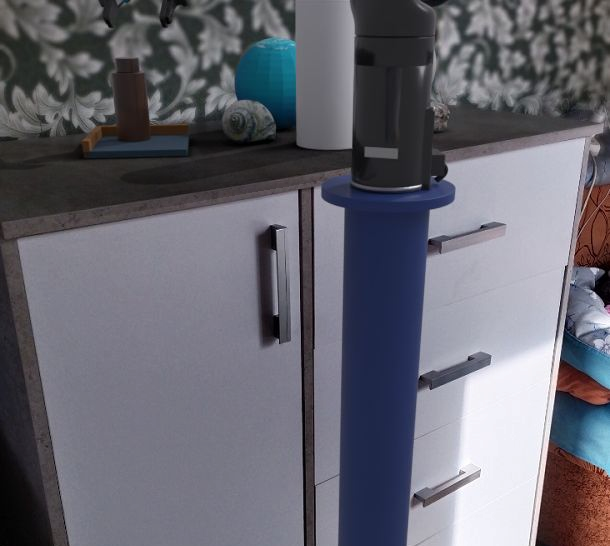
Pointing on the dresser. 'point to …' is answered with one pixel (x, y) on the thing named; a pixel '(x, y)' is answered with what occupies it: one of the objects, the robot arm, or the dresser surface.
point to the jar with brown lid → (130, 100)
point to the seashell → (248, 122)
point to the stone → (440, 116)
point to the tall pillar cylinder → (324, 74)
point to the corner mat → (160, 145)
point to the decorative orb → (270, 79)
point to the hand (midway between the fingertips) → (136, 23)
